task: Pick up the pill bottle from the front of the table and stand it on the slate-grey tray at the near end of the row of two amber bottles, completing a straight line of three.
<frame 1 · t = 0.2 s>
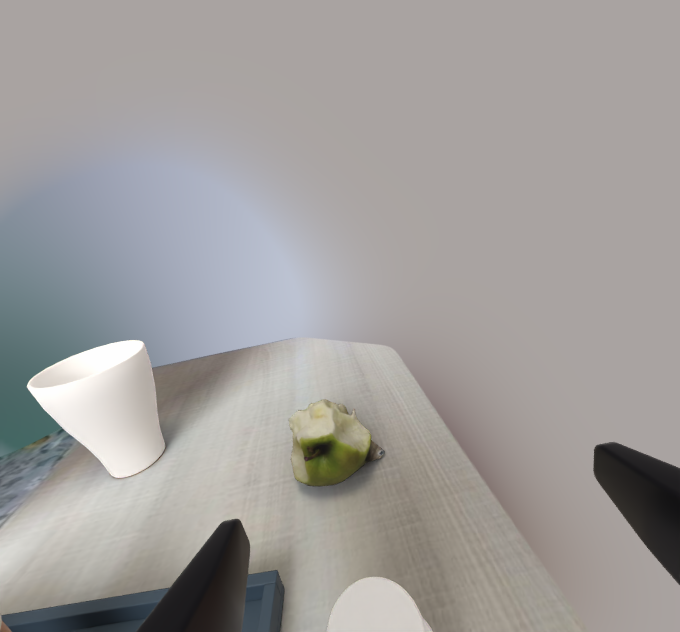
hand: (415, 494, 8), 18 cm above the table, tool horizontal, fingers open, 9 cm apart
fruit: (333, 464, 32), on the table
cup: (139, 459, 39), on the table
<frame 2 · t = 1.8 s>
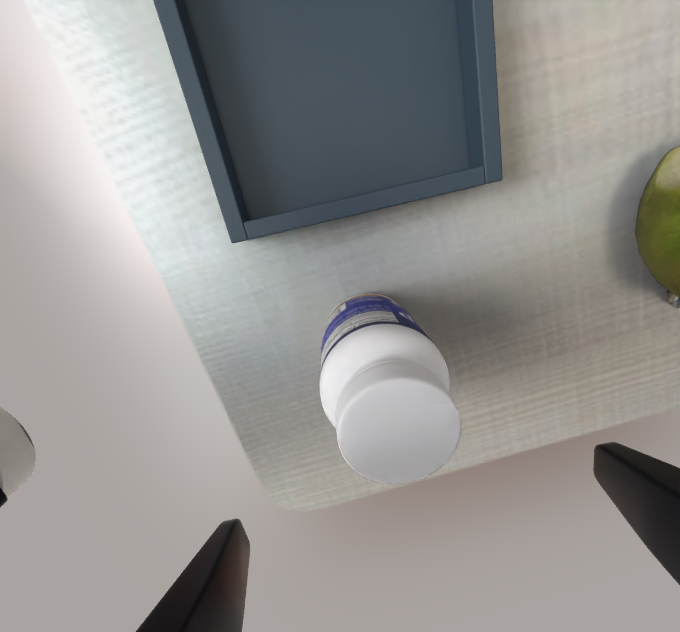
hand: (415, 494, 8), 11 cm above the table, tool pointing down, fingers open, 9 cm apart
pill bottle: (366, 333, 18), on the table
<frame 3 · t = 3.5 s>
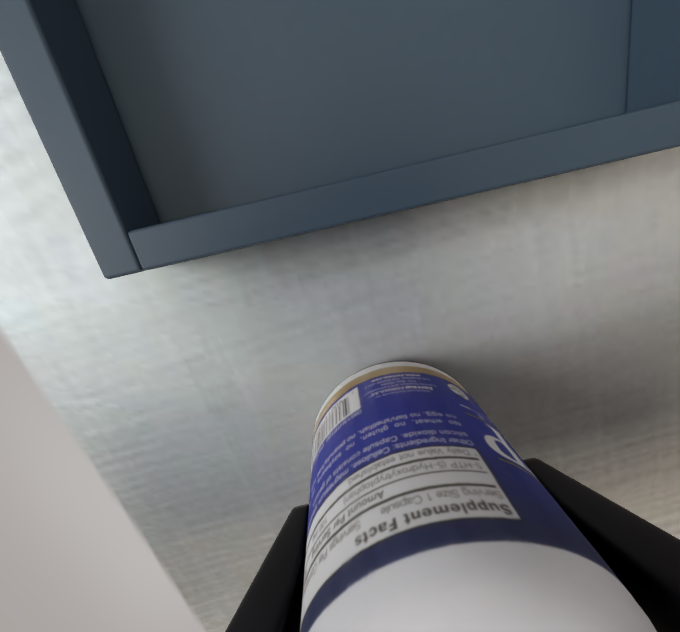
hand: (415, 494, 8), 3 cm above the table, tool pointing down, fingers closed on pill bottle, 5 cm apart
pill bottle: (392, 425, 10), on the table, touching gripper
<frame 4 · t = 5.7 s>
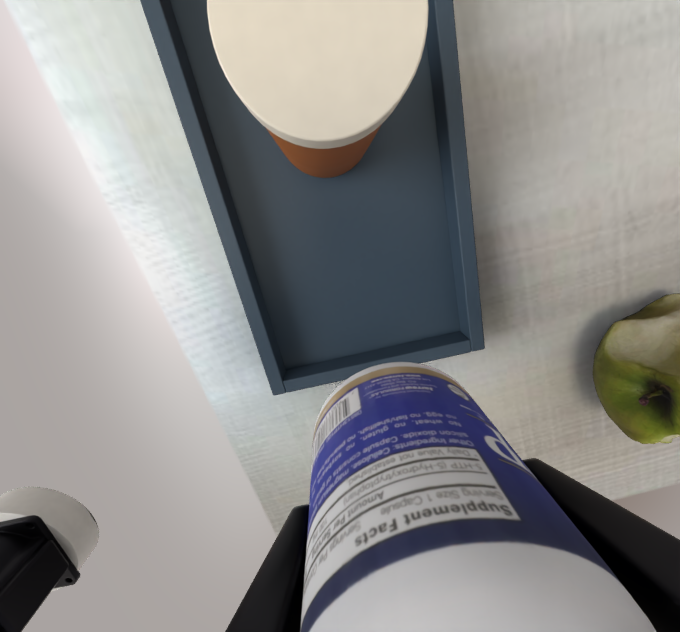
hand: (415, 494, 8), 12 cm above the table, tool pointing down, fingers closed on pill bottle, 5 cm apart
amber bottle middle: (324, 125, 16), point 1 cm above the table, touching tray
tray: (324, 128, 16), on the table
pill bottle: (392, 426, 10), point 10 cm above the table, touching gripper
fruit: (632, 349, 21), on the table
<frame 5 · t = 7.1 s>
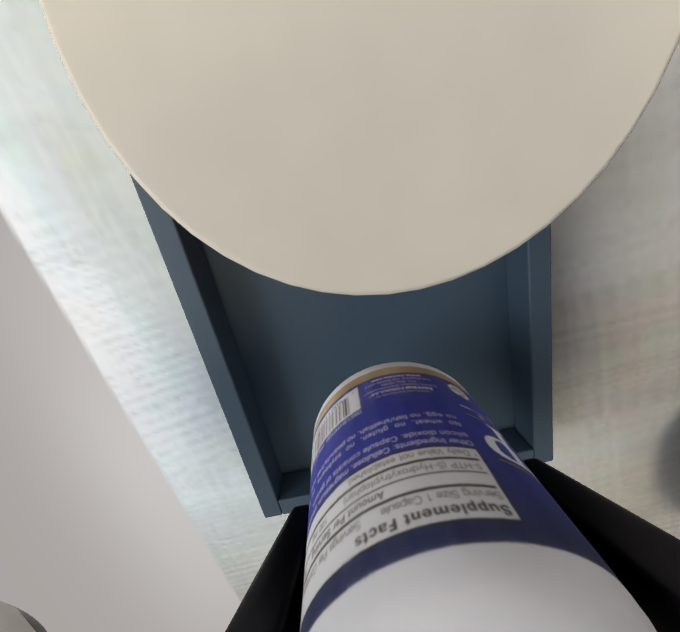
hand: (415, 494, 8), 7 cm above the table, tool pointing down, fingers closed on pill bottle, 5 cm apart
amber bottle middle: (338, 161, 11), point 1 cm above the table, touching tray
tray: (338, 164, 11), on the table
pill bottle: (392, 426, 10), point 4 cm above the table, touching gripper
when the fingers open (3 cm above the table, at t = 8.4 s): pill bottle stays where it is, resting on tray.
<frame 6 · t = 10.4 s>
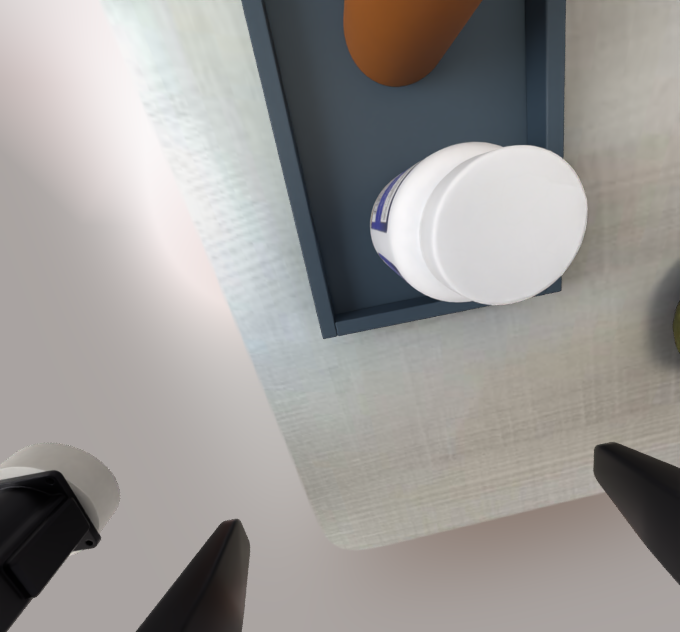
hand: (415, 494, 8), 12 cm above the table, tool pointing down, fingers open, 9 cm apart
amber bottle middle: (398, 23, 14), point 1 cm above the table, touching tray
tray: (395, 30, 14), on the table
pill bottle: (418, 223, 17), resting on tray
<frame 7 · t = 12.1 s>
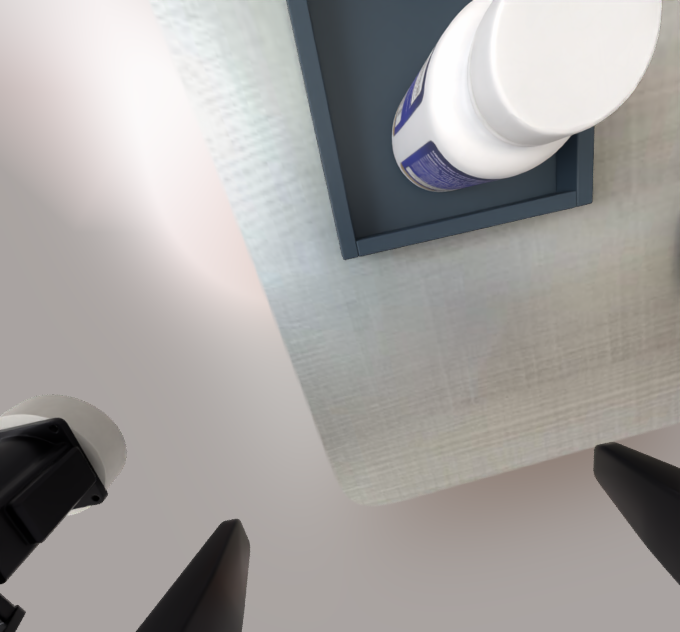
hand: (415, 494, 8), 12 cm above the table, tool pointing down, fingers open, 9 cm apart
pill bottle: (440, 136, 16), resting on tray
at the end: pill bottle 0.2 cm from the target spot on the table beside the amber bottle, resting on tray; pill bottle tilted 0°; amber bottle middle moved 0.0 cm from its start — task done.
